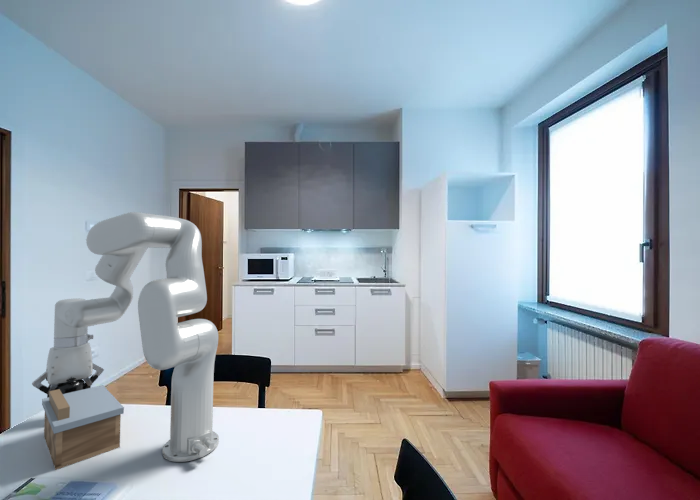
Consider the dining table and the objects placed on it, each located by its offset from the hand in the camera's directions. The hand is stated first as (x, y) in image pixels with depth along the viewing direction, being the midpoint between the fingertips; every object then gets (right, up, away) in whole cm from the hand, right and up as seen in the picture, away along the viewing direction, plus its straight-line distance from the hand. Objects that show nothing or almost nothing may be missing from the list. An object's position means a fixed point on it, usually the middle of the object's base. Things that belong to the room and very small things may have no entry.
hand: (69, 402), depth 96 cm
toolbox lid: (+13, +4, -12) cm, 18 cm away
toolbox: (+13, -4, -12) cm, 18 cm away
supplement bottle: (0, -3, 0) cm, 3 cm away
